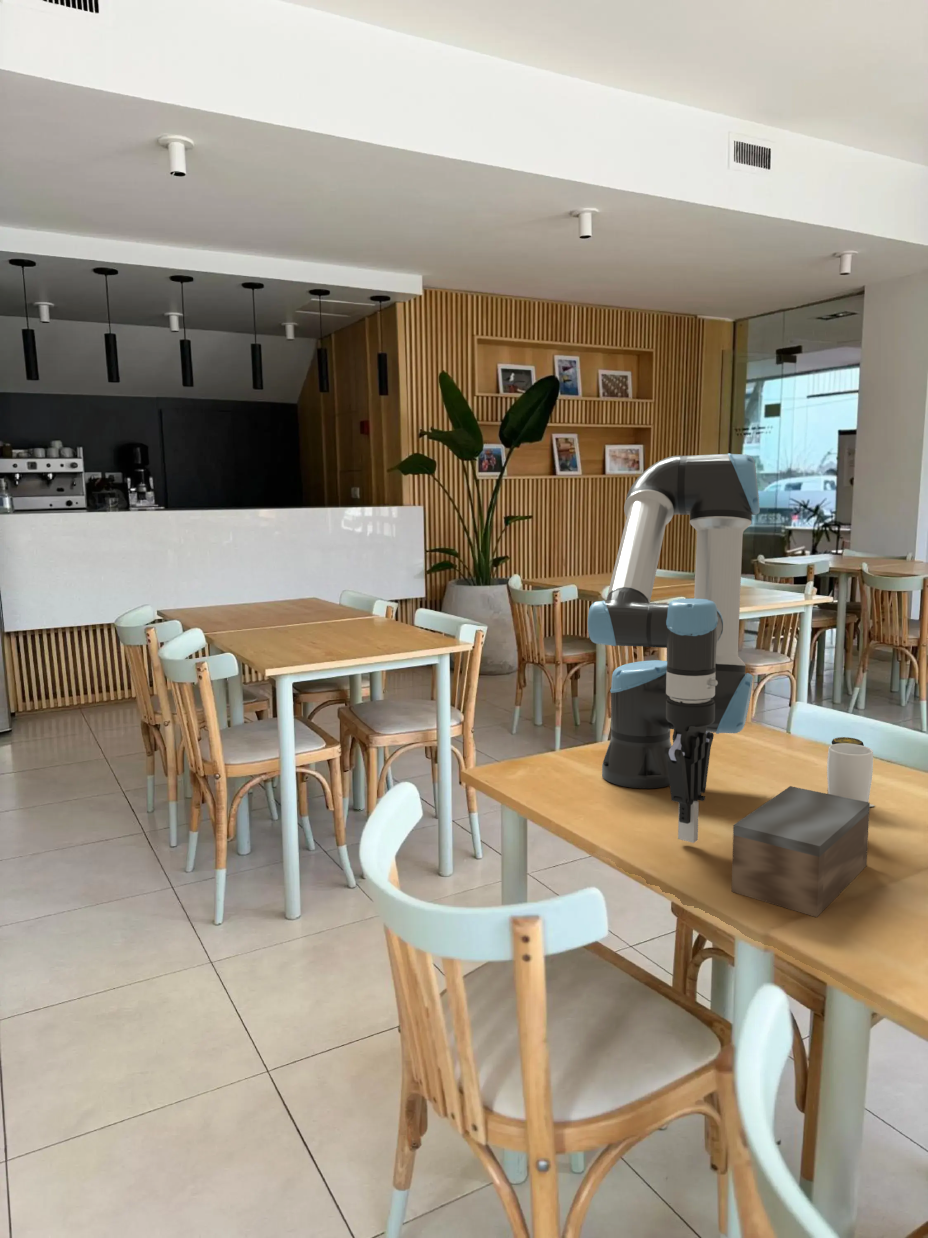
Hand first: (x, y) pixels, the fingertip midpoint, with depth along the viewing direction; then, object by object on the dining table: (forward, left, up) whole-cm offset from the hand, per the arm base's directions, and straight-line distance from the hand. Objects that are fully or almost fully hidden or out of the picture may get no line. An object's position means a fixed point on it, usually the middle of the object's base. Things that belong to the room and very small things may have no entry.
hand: (687, 839), depth 141 cm
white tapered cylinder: (+18, +20, -1) cm, 27 cm away
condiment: (+12, +36, -1) cm, 38 cm away
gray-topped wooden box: (+18, 0, -1) cm, 19 cm away
